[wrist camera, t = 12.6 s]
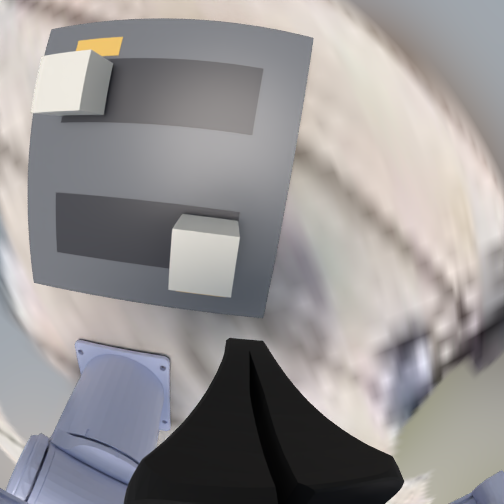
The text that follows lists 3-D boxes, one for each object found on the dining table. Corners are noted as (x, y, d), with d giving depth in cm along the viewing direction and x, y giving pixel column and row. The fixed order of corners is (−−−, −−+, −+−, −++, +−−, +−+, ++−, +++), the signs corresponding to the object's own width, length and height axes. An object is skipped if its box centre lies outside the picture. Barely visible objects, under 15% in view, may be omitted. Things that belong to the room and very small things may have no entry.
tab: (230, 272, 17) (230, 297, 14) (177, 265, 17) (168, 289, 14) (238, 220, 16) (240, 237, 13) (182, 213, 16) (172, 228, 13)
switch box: (260, 302, 21) (263, 318, 19) (47, 271, 19) (33, 282, 17) (305, 47, 15) (313, 37, 13) (65, 37, 13) (51, 29, 11)
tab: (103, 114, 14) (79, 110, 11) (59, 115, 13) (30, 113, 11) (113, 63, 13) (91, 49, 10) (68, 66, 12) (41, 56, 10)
